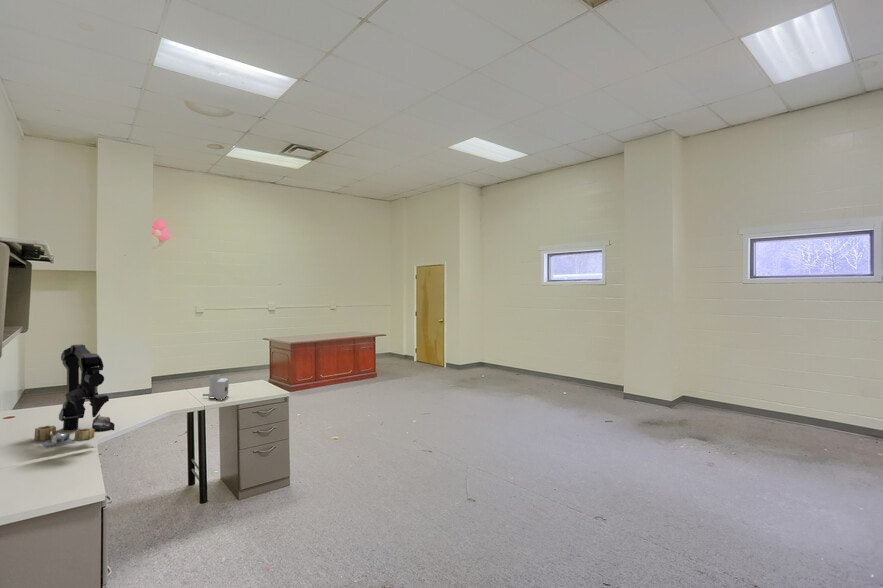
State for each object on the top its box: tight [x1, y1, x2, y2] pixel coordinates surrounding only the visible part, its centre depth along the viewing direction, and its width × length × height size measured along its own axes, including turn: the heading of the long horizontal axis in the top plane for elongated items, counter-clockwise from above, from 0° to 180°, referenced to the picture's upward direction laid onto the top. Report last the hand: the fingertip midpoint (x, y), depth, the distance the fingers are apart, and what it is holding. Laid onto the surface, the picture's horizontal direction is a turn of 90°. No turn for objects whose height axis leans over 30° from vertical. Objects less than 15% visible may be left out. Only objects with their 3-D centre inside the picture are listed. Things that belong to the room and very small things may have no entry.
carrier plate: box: [37, 436, 77, 449], centre depth 196 cm, size 18×10×5 cm, turn 55°
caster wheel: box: [91, 413, 116, 433], centre depth 217 cm, size 7×11×10 cm
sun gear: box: [50, 431, 71, 442], centre depth 198 cm, size 6×6×2 cm
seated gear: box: [34, 425, 57, 442], centre depth 198 cm, size 7×7×5 cm
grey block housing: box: [202, 374, 230, 400], centre depth 294 cm, size 12×14×15 cm
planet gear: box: [74, 427, 96, 441], centre depth 202 cm, size 7×7×5 cm
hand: (86, 415), depth 202 cm, fingers open, 9 cm apart
